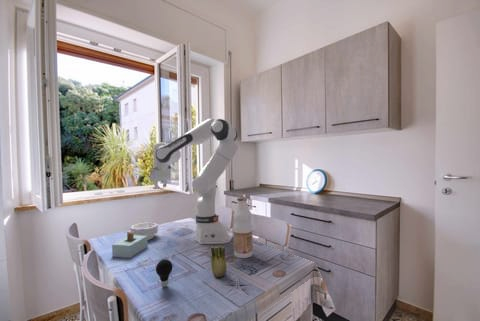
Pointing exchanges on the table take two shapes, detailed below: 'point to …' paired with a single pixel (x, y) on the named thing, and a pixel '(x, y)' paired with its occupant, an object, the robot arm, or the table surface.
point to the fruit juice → (242, 230)
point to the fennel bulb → (218, 261)
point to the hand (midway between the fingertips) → (160, 187)
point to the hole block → (129, 247)
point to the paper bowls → (145, 229)
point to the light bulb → (164, 271)
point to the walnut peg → (130, 236)
